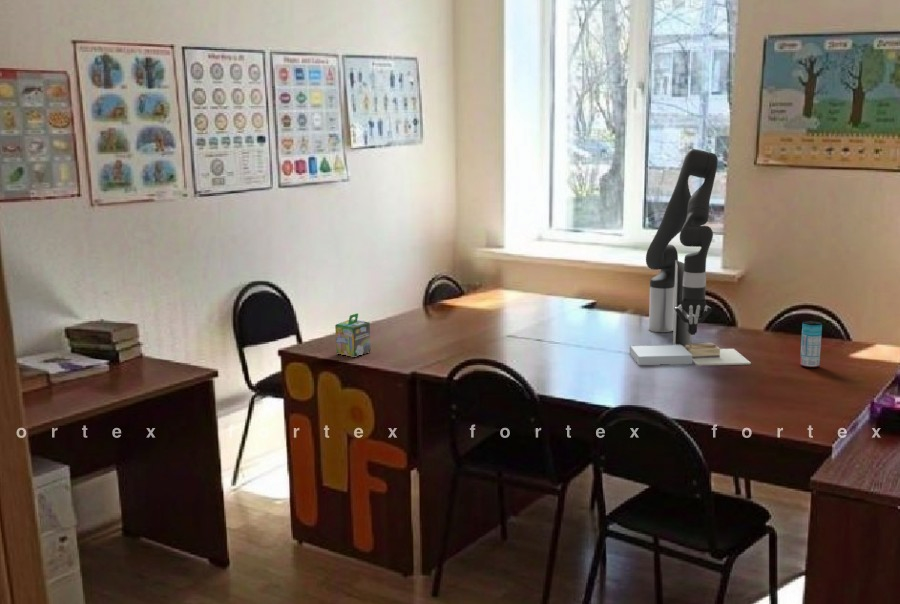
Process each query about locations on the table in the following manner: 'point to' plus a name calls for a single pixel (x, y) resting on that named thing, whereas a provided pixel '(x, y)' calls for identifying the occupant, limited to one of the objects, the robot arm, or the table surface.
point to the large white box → (660, 354)
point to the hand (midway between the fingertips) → (691, 334)
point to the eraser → (703, 350)
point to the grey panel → (678, 324)
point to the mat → (723, 359)
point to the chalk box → (353, 337)
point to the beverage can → (811, 343)
